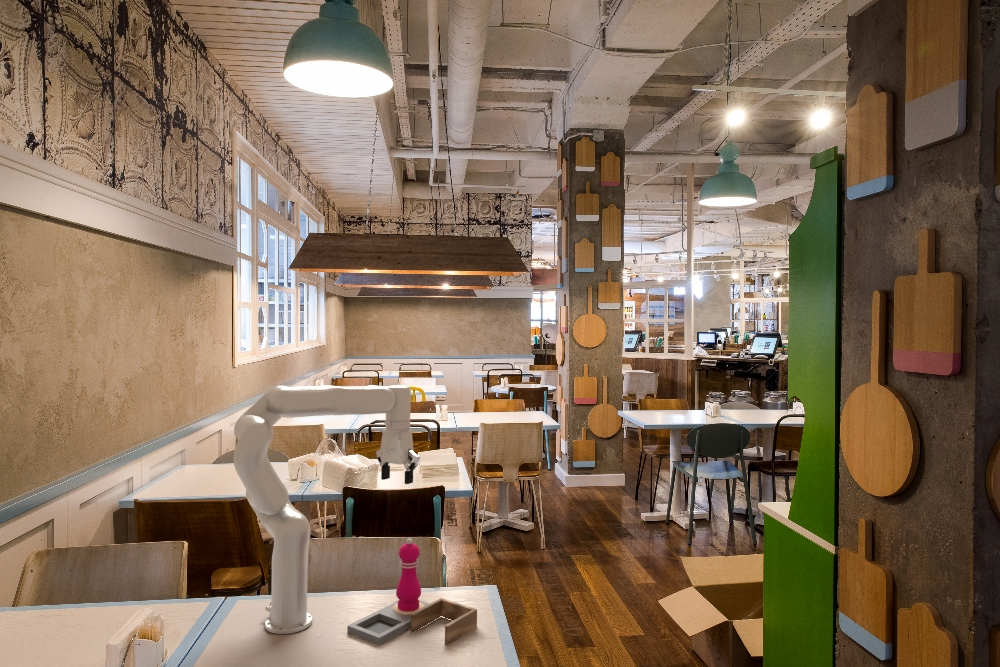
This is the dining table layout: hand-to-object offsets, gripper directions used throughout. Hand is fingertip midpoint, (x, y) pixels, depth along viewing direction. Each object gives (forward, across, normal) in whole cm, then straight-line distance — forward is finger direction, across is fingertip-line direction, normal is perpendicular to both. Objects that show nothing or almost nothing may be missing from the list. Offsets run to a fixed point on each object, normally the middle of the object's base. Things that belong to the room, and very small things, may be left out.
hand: (397, 481), depth 197 cm
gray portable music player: (+36, +11, -12) cm, 40 cm away
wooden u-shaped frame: (+36, +25, -7) cm, 45 cm away
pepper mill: (+34, +11, -6) cm, 36 cm away
